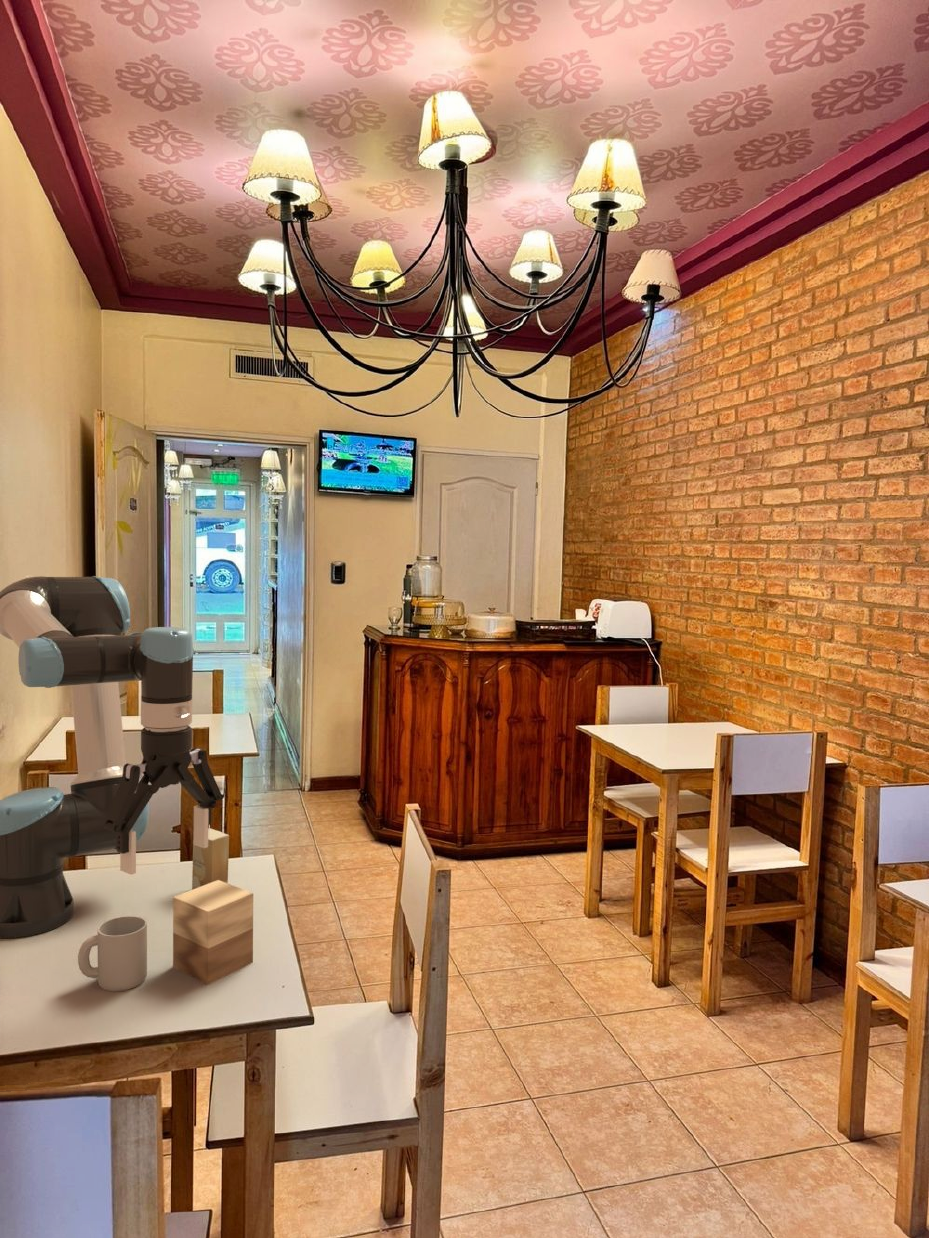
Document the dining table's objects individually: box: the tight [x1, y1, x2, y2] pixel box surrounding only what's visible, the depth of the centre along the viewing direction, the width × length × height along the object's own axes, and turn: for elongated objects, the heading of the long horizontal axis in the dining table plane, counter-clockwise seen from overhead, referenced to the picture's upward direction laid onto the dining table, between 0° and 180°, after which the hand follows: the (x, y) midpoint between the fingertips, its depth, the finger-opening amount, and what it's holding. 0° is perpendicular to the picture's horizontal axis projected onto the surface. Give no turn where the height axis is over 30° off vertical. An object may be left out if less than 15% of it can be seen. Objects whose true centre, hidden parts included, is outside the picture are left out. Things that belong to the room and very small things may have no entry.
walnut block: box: [172, 927, 254, 985], centre depth 134 cm, size 9×9×6 cm
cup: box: [77, 915, 148, 992], centre depth 127 cm, size 7×10×9 cm
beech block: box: [172, 880, 254, 949], centre depth 133 cm, size 9×9×6 cm
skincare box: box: [191, 827, 230, 890], centre depth 162 cm, size 6×4×12 cm
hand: (166, 858), depth 128 cm, fingers open, 13 cm apart
